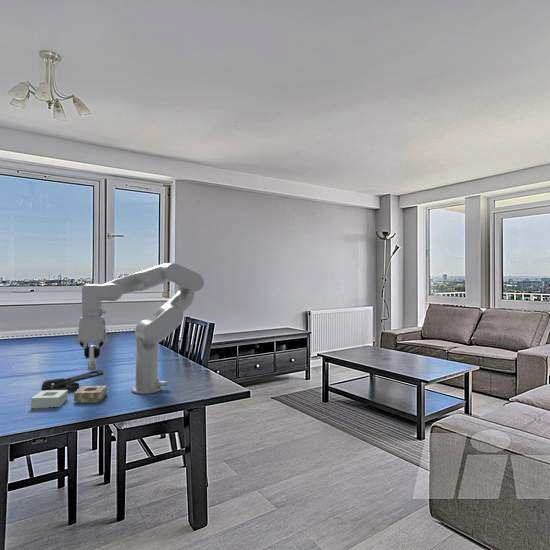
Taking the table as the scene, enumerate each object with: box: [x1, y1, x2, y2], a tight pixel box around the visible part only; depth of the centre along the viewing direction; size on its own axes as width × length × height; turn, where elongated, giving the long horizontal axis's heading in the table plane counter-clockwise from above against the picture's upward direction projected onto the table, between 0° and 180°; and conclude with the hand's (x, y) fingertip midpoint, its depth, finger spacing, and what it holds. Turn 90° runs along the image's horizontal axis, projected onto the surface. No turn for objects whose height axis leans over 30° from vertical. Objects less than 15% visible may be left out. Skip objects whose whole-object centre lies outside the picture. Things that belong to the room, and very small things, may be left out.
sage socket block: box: [30, 390, 69, 409], centre depth 162 cm, size 10×10×4 cm
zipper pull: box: [40, 369, 104, 392], centre depth 183 cm, size 9×7×25 cm
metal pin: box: [87, 344, 97, 372], centre depth 169 cm, size 3×3×10 cm
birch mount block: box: [73, 385, 107, 403], centre depth 169 cm, size 10×10×4 cm
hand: (92, 357), depth 169 cm, fingers closed on metal pin, 3 cm apart
